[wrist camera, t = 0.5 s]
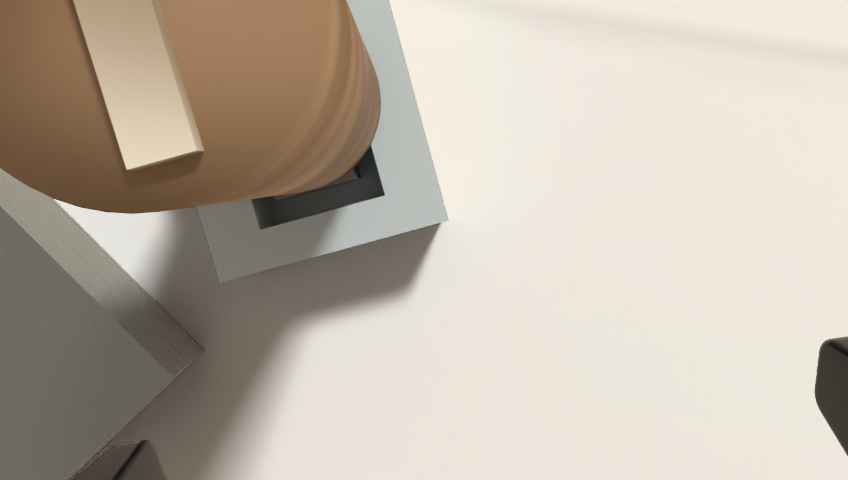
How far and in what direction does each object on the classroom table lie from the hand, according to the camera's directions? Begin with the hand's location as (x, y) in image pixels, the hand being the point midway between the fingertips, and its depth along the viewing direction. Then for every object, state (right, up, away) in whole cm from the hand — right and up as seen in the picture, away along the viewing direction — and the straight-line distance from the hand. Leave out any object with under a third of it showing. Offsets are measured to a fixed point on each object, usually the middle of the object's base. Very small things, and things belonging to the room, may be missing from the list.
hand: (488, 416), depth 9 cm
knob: (-5, +7, +12) cm, 15 cm away
